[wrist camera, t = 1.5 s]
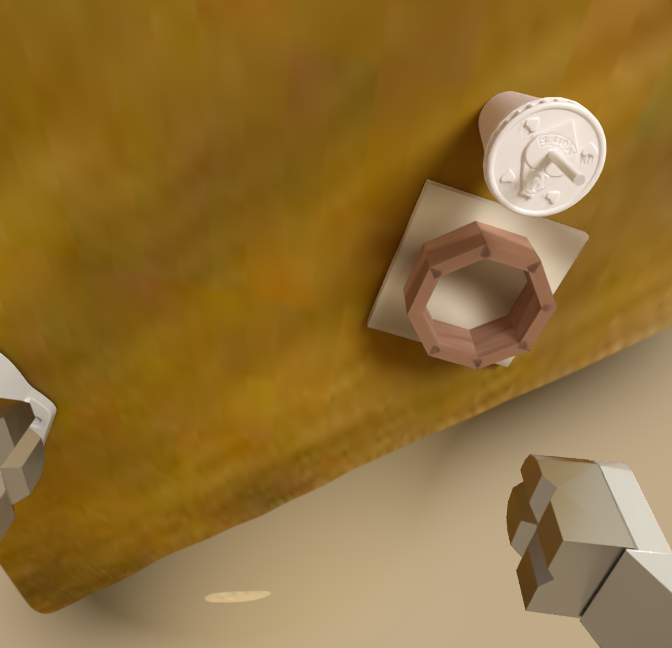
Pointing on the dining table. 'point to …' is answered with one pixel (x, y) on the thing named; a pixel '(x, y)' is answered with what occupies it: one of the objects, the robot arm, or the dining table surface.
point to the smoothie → (539, 152)
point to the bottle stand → (473, 278)
